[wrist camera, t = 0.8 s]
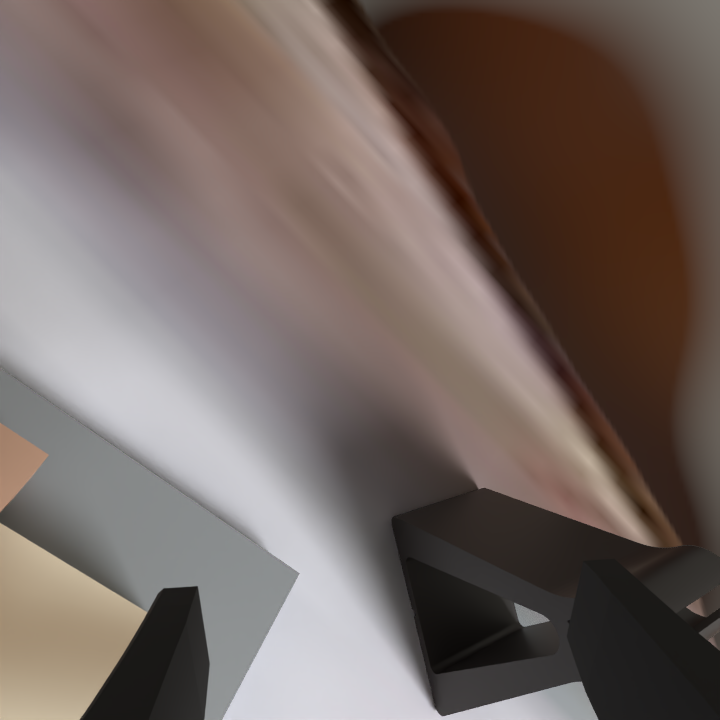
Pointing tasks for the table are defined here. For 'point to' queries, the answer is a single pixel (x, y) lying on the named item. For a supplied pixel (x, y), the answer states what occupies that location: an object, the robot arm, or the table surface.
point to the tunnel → (16, 463)
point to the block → (55, 633)
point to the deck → (142, 536)
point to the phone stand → (519, 591)
